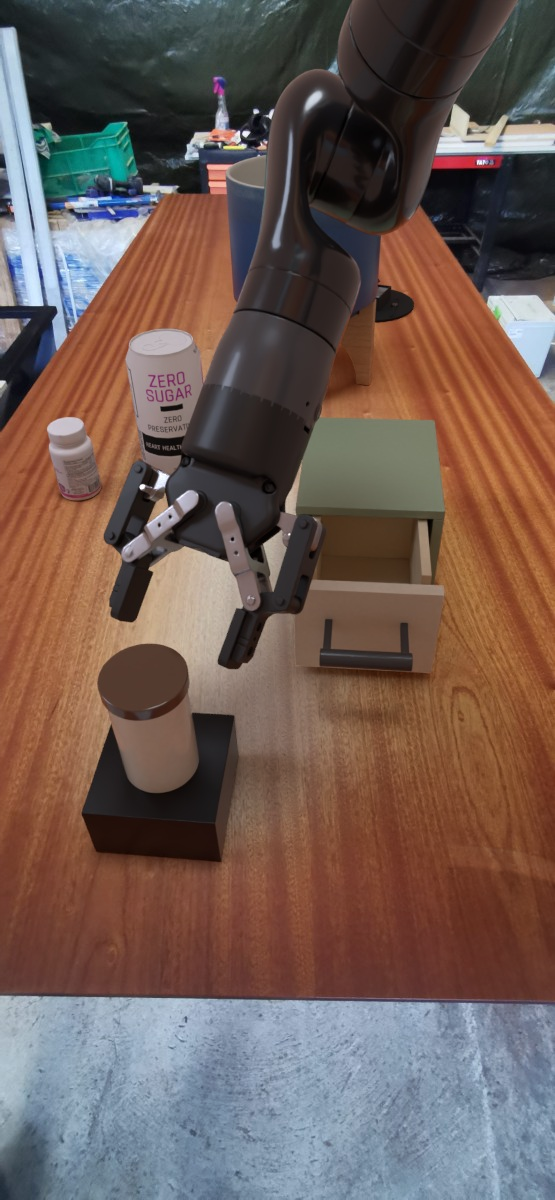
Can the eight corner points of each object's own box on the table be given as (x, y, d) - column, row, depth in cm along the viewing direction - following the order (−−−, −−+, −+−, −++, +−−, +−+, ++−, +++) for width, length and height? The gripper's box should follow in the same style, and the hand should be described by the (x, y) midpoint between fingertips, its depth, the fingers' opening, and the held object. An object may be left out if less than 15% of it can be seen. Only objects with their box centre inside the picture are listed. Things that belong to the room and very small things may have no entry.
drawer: (434, 717, 59) (449, 639, 53) (290, 708, 60) (288, 631, 54) (423, 563, 73) (433, 488, 67) (306, 558, 74) (306, 484, 68)
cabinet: (431, 604, 70) (445, 511, 63) (297, 598, 71) (295, 506, 64) (423, 507, 82) (434, 419, 74) (308, 503, 83) (308, 416, 76)
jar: (208, 731, 53) (195, 645, 47) (194, 798, 49) (178, 713, 43) (132, 726, 54) (110, 640, 48) (112, 793, 50) (85, 707, 44)
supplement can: (185, 436, 94) (170, 320, 84) (224, 462, 90) (213, 342, 80) (131, 459, 91) (109, 340, 81) (168, 487, 86) (150, 364, 76)
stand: (238, 754, 58) (234, 714, 54) (221, 861, 51) (215, 823, 48) (127, 747, 59) (116, 707, 55) (95, 851, 52) (80, 813, 49)
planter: (265, 341, 116) (258, 148, 98) (385, 355, 111) (400, 154, 93) (218, 396, 102) (199, 184, 85) (352, 415, 97) (362, 194, 80)
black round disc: (344, 284, 133) (346, 252, 129) (425, 295, 128) (428, 262, 124) (311, 314, 123) (311, 280, 119) (396, 328, 118) (399, 293, 114)
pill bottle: (57, 484, 87) (40, 420, 81) (97, 475, 88) (83, 411, 83) (64, 505, 84) (46, 440, 78) (105, 496, 85) (91, 431, 79)
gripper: (139, 358, 46) (53, 600, 47) (341, 410, 41) (241, 684, 41) (196, 400, 53) (121, 611, 54) (376, 449, 48) (290, 684, 48)
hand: (173, 642), depth 47 cm, fingers open, 8 cm apart
